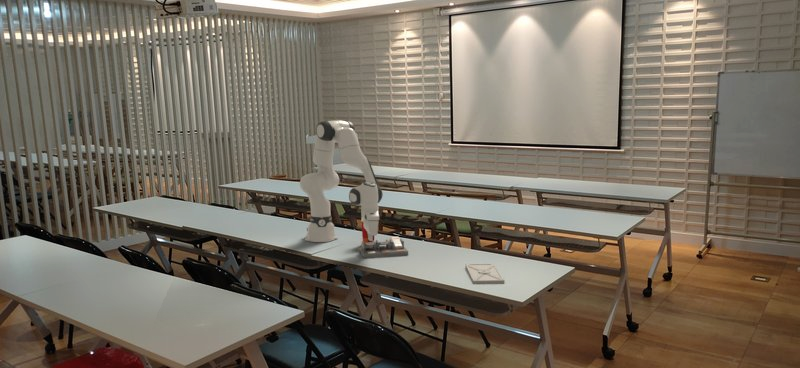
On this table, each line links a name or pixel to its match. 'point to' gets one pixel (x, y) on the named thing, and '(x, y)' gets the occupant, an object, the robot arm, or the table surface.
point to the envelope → (484, 273)
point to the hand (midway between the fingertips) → (370, 240)
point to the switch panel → (382, 250)
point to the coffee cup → (365, 234)
